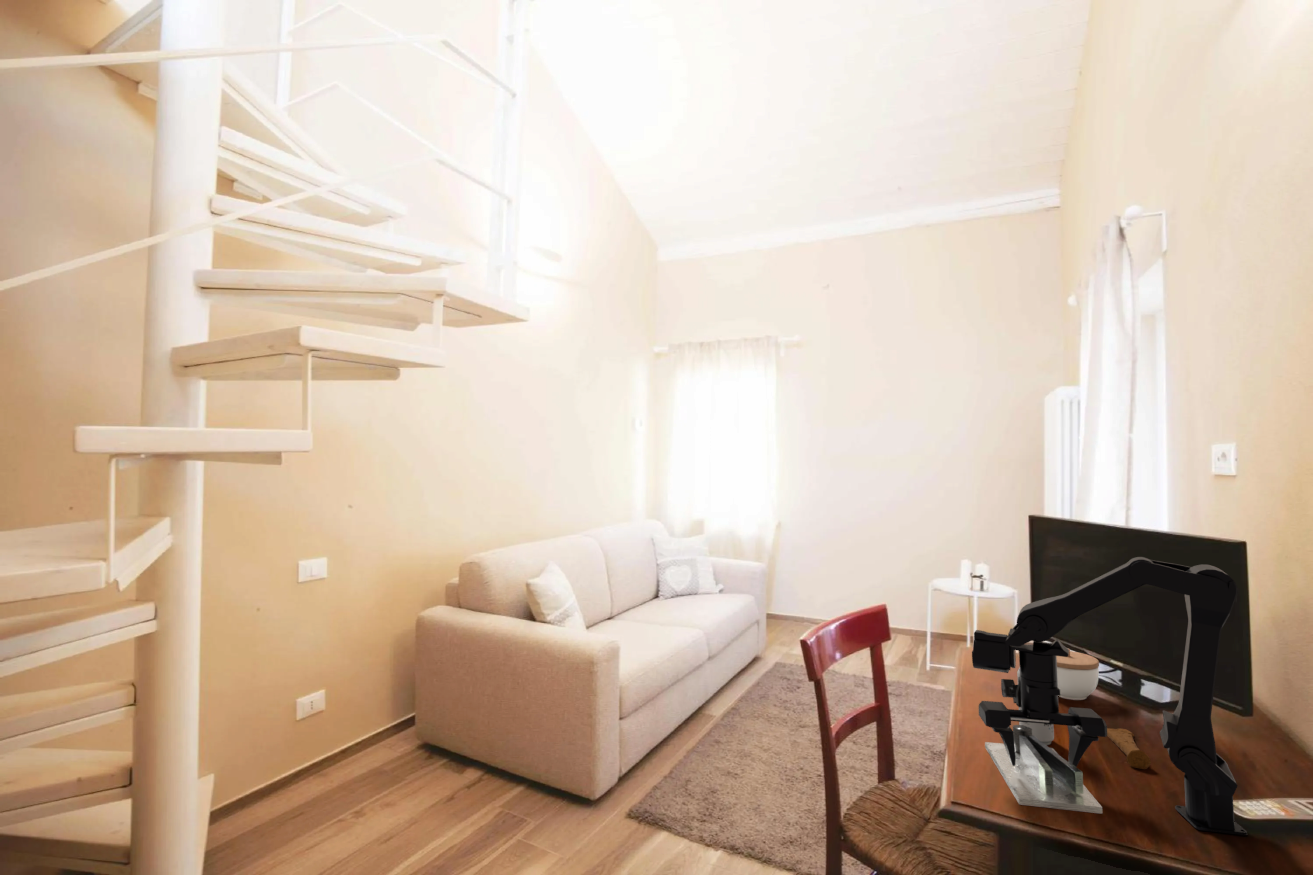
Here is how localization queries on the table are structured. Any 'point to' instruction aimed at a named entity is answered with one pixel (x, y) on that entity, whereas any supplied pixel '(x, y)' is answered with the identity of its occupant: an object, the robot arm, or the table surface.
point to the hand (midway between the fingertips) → (1042, 767)
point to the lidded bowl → (1077, 675)
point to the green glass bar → (1059, 766)
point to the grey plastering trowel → (1037, 777)
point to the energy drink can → (1040, 727)
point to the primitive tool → (1129, 748)
